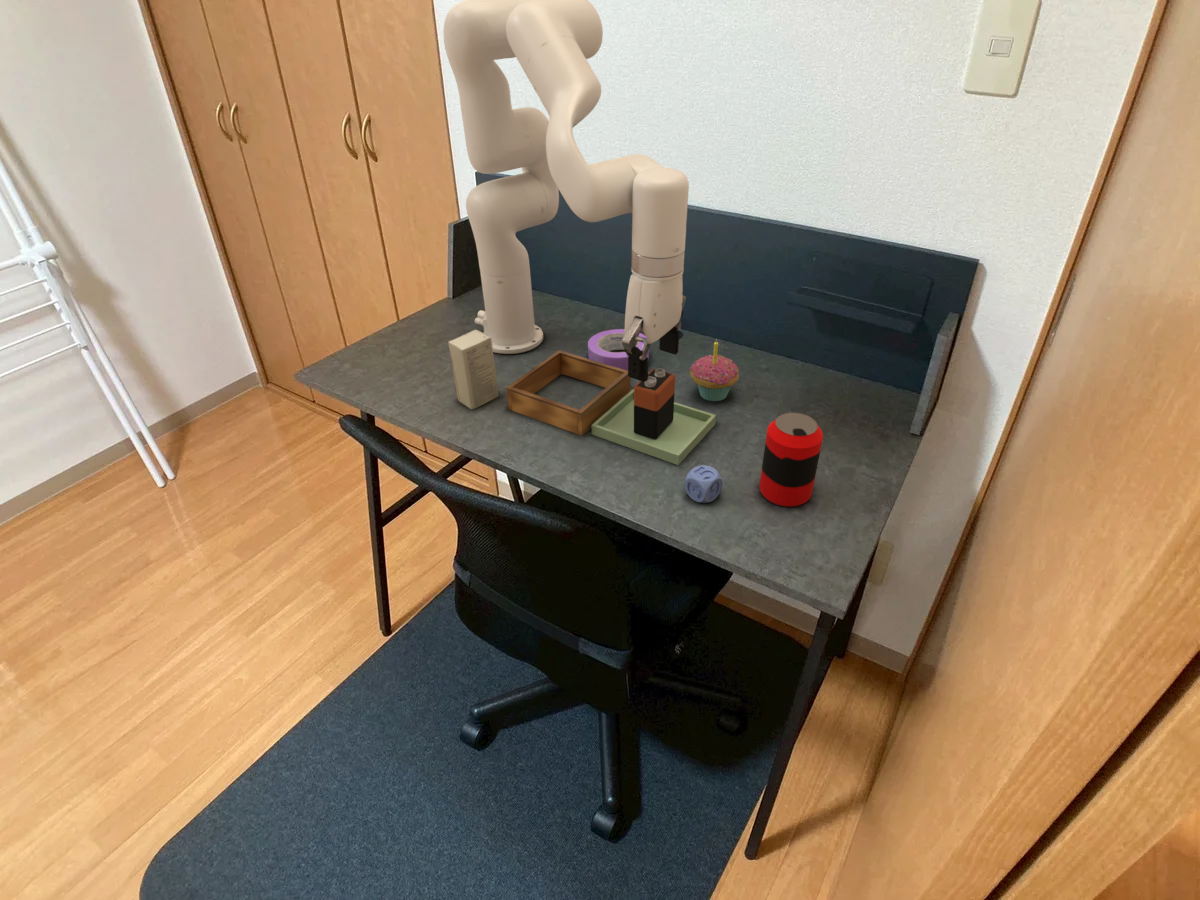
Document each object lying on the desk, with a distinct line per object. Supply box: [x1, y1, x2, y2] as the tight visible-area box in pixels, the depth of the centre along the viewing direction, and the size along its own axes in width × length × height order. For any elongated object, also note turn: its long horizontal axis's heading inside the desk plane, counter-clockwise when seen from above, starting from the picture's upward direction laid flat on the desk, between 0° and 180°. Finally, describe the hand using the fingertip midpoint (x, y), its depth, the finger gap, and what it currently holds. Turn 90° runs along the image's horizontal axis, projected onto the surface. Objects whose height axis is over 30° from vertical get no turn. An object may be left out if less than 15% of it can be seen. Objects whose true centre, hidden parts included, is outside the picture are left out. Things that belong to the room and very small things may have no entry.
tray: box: [591, 388, 717, 466], centre depth 120 cm, size 16×13×2 cm
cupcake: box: [689, 338, 740, 402], centre depth 125 cm, size 9×8×12 cm
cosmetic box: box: [447, 329, 500, 410], centre depth 125 cm, size 6×4×12 cm
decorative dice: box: [684, 464, 723, 504], centre depth 105 cm, size 4×4×4 cm
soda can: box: [758, 412, 824, 508], centre depth 103 cm, size 8×8×12 cm
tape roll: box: [587, 328, 650, 371], centre depth 138 cm, size 12×12×4 cm
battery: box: [633, 368, 676, 439], centre depth 117 cm, size 4×7×10 cm, turn 149°
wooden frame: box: [505, 349, 632, 437], centre depth 126 cm, size 16×16×4 cm
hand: (653, 364), depth 113 cm, fingers open, 9 cm apart
